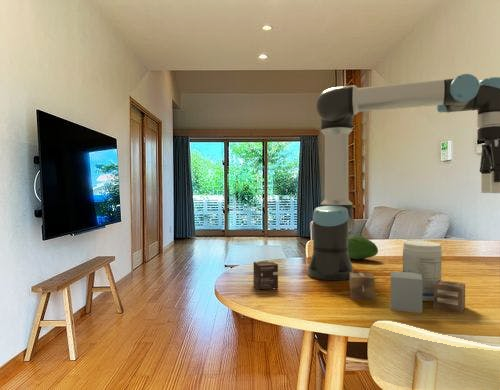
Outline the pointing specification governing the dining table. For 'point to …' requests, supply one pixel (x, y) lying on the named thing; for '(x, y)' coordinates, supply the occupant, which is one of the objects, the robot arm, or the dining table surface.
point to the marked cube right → (449, 296)
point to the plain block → (406, 291)
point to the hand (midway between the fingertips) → (490, 193)
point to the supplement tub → (423, 264)
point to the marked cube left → (362, 286)
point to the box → (265, 275)
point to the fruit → (361, 248)
